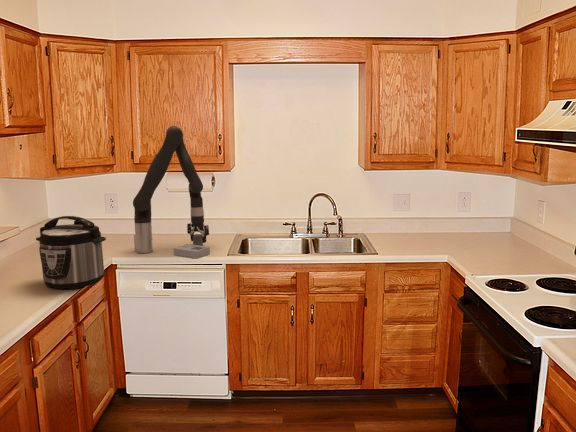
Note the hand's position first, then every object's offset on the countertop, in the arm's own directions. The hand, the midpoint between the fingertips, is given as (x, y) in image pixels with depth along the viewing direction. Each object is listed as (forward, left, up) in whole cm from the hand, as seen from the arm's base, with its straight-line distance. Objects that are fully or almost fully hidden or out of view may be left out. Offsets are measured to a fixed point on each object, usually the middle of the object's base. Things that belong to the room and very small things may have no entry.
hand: (198, 241), depth 328 cm
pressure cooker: (-10, -81, -4) cm, 81 cm away
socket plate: (+6, -13, -4) cm, 15 cm away
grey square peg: (0, 0, -4) cm, 4 cm away
